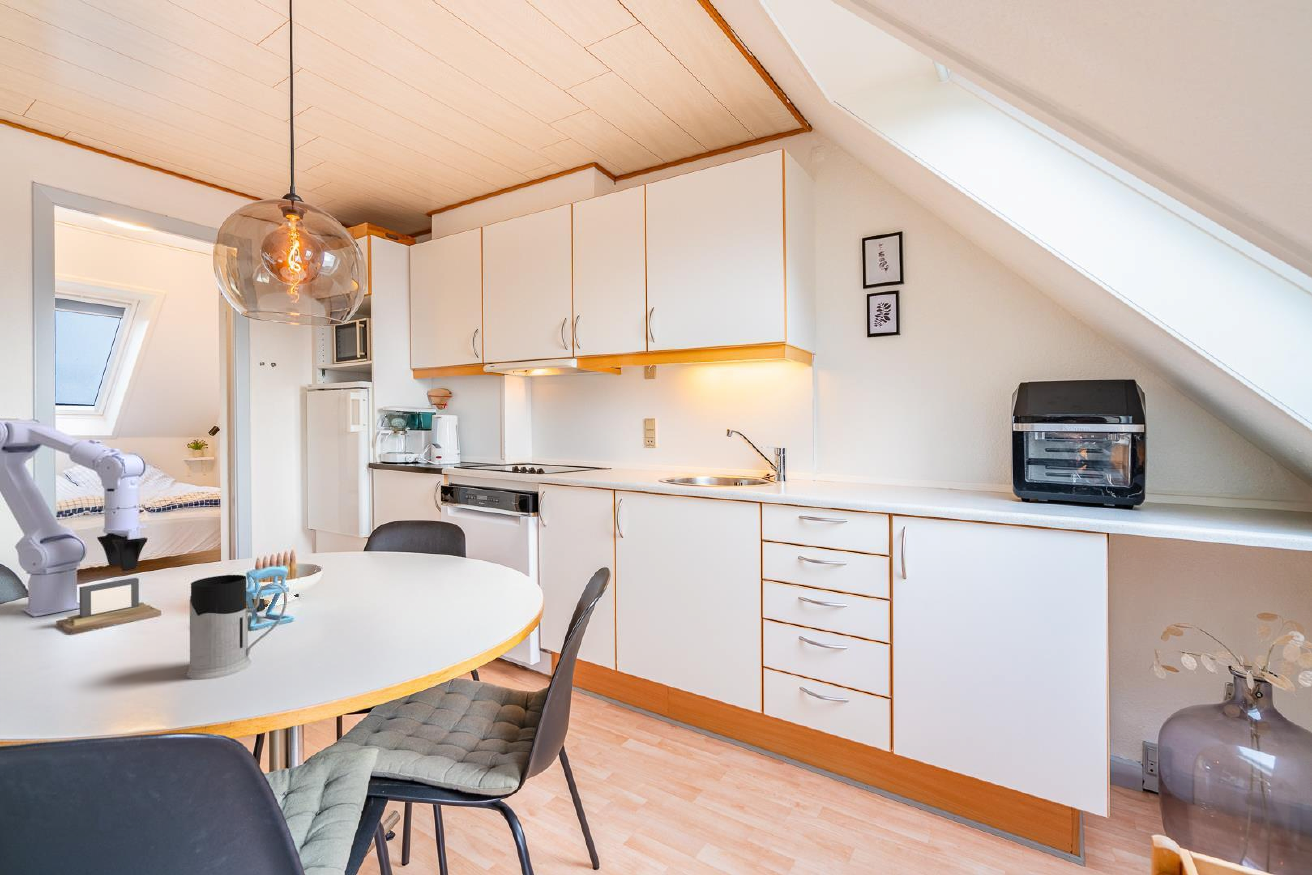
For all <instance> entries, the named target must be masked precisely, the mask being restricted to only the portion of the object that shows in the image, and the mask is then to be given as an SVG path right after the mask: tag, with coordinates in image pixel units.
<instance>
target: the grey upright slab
mask: <svg viewBox="0 0 1312 875" xmlns="http://www.w3.org/2000/svg"><path fill="white" fill-rule="evenodd" d="M139 579H140V578H138V577H131V578H127V579H126V578H125V579H120V580H114V581H108V582H102V583H96V584H91V585H89V584H88V585H84V586H79V591H78V592H79V595H78V596H79V603H80V608H79V615H80V618H85V617H90V616H95V615H100V614H105V613H110V612H115V611H120V610H125V609H130V608H135V607H139V603H140V598H139V597H140V586H139V584H140V580H139Z"/></svg>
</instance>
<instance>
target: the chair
mask: <svg viewBox="0 0 1312 875" xmlns="http://www.w3.org/2000/svg"><path fill="white" fill-rule="evenodd" d="M282 565H283V564H282ZM282 565H278V566H277V567H267V568H264V569H261V570H256V569H255V568H253V569H251V570H247V571H246V575H245V576H246V581H247V583H248V584H247V586H246V603H247V604H248V605H247V606H248V608H253V607H255V606H254V603H253V600H252V598H257V594H258V592H259V590H260V589H261V588H262V587H263V586H261V587H260V585H259V582H258V581H259V580H261V579H264V578H268V577H274V578H273V583H276V584H280V585H282V586H283V587H284V588H285V590H286V592H289V587H286V585H285V579H286V576H287V573H288V569H287V568H286V567H285V566H282ZM278 576H283V577H282V579H281V583H278ZM254 582H255V587H254ZM281 593H284V592H283V590H282V589H281V588H280V587H278V586H267V587H266V588H264V589H263V590H262V592H261V594H260V597H263V596H266V595H271V594H275V595H274V597H273V599H272V602H271V604H270V605H269V607H268V609H267V610H265V618H268V619H274V620H270V621H266V622H261V623H258V617H259V615H258V612H256V609H254V610H251V611H250V615H251V621H250V625H249V629H251V630H250V631H252V630H253V631H256V630H255V629H258V630H261V629H266V628H265V627H267V628H270V627H269V626H271V627H272V626H273V625H274V624H275V623H276V621H277V620H278V618H279V616H280V614H281V613H275V612H273V610H274V608H275V607H274V606H275V604H276V602H277V600H278V598H279V596H280V594H281ZM293 620H294V621H295V617H294V616H293V615H288V614H283V616H282V618H281V620H280V621H279V623H278V624H280V625H284V624H287V622H289V623H292V622H291V621H293ZM294 621H293V622H294ZM283 623H284V624H283Z"/></svg>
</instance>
